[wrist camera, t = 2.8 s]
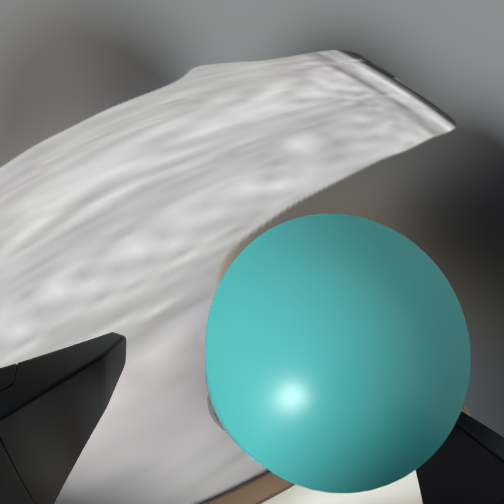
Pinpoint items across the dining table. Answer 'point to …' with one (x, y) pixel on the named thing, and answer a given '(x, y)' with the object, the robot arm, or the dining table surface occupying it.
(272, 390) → the marker
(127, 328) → the dining table surface
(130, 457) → the dining table surface
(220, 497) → the clipboard
